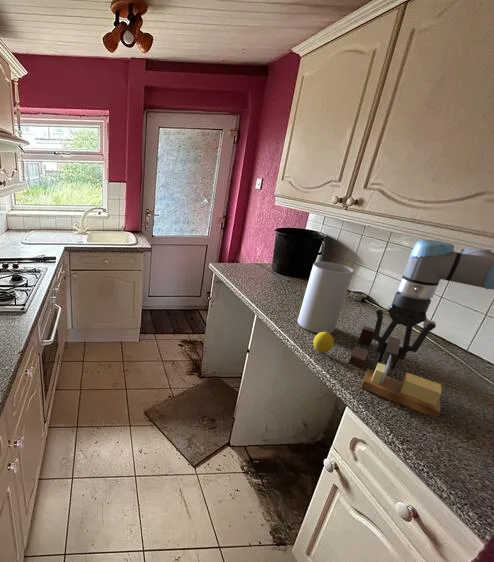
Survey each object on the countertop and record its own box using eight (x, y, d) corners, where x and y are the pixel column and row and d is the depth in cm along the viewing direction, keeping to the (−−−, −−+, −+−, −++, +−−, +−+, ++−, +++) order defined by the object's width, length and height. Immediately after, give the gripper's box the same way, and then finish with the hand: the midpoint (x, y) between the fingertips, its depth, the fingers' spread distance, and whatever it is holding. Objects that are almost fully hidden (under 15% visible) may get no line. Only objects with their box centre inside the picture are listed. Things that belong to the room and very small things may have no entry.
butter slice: (381, 376, 91) (385, 365, 90) (379, 384, 88) (384, 372, 86) (373, 373, 92) (378, 362, 91) (371, 381, 89) (376, 369, 87)
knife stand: (370, 343, 112) (376, 329, 110) (362, 368, 98) (368, 352, 96) (358, 340, 115) (363, 325, 112) (348, 363, 101) (354, 347, 99)
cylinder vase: (294, 316, 130) (310, 260, 121) (329, 322, 126) (347, 264, 117) (299, 331, 119) (317, 269, 110) (337, 337, 115) (358, 275, 106)
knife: (394, 355, 99) (400, 339, 97) (388, 386, 85) (396, 367, 83) (383, 352, 101) (389, 336, 99) (375, 381, 87) (382, 363, 84)
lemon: (308, 352, 106) (315, 331, 103) (313, 346, 110) (319, 326, 107) (327, 359, 103) (334, 338, 100) (331, 352, 106) (338, 332, 103)
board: (436, 402, 85) (440, 395, 84) (436, 418, 80) (440, 411, 79) (364, 375, 95) (367, 368, 94) (360, 387, 90) (363, 380, 89)
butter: (435, 396, 84) (441, 384, 82) (435, 406, 80) (441, 393, 79) (401, 383, 88) (406, 372, 87) (400, 392, 85) (405, 380, 83)
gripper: (377, 290, 90) (352, 358, 99) (454, 308, 80) (419, 382, 88) (380, 284, 95) (356, 349, 104) (452, 299, 85) (420, 370, 94)
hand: (385, 364), depth 96 cm, fingers closed on knife, 3 cm apart
